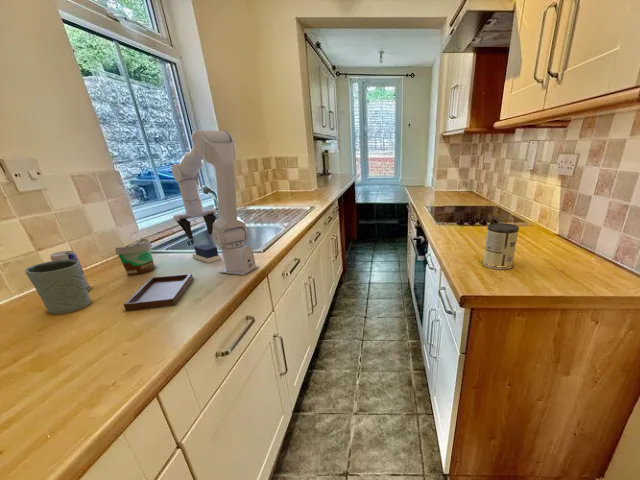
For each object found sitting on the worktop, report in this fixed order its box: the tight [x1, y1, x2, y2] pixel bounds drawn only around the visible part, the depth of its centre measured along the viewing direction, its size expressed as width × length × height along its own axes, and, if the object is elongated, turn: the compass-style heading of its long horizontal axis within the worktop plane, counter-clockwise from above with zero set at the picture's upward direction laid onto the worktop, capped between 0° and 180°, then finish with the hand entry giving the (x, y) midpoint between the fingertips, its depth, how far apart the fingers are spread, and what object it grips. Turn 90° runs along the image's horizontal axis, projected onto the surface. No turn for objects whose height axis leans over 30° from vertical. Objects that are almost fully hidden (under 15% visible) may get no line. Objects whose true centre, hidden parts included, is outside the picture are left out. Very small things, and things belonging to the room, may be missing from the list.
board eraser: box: [191, 243, 221, 264], centre depth 122 cm, size 11×5×5 cm, turn 56°
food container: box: [115, 237, 156, 276], centre depth 110 cm, size 12×6×10 cm, turn 179°
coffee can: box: [482, 222, 520, 270], centre depth 112 cm, size 10×10×14 cm
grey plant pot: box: [24, 260, 92, 315], centre depth 84 cm, size 10×10×12 cm
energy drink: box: [50, 250, 91, 292], centre depth 93 cm, size 5×5×12 cm
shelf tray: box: [123, 272, 194, 312], centre depth 94 cm, size 12×20×2 cm, turn 16°
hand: (201, 236), depth 120 cm, fingers open, 7 cm apart
